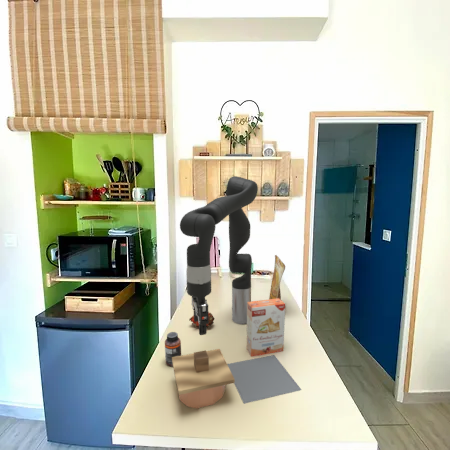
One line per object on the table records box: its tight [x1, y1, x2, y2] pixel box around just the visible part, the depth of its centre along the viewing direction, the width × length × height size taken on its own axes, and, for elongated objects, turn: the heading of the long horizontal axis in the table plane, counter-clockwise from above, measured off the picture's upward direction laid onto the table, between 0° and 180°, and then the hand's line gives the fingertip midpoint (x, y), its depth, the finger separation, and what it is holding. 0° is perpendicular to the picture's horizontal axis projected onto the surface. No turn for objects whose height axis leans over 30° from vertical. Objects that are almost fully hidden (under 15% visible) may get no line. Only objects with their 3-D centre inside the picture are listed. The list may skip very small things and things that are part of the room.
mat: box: [227, 354, 302, 404], centre depth 101 cm, size 20×20×1 cm
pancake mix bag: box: [268, 254, 286, 301], centre depth 151 cm, size 7×19×28 cm, turn 176°
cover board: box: [172, 348, 235, 396], centre depth 94 cm, size 17×17×6 cm
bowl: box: [178, 385, 226, 410], centre depth 95 cm, size 15×15×7 cm
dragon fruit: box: [189, 311, 215, 328], centre depth 137 cm, size 8×8×12 cm
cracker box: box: [246, 298, 286, 358], centre depth 115 cm, size 14×6×21 cm, turn 105°
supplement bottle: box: [164, 331, 182, 367], centre depth 110 cm, size 6×6×11 cm
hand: (199, 327), depth 92 cm, fingers open, 8 cm apart
